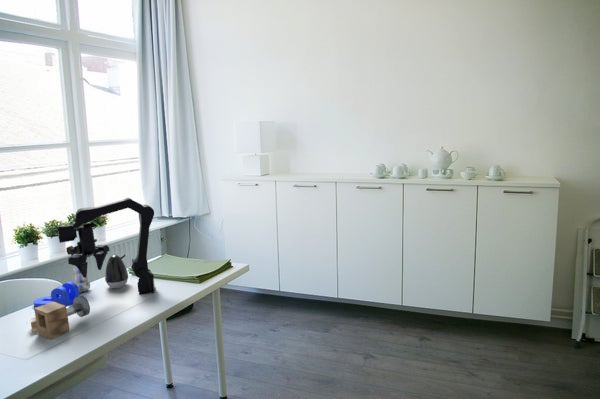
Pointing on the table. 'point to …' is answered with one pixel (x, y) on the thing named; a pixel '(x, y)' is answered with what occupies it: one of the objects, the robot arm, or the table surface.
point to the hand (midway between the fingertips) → (92, 273)
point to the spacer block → (34, 324)
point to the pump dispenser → (116, 272)
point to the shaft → (79, 307)
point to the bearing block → (52, 320)
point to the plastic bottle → (81, 279)
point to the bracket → (60, 295)
